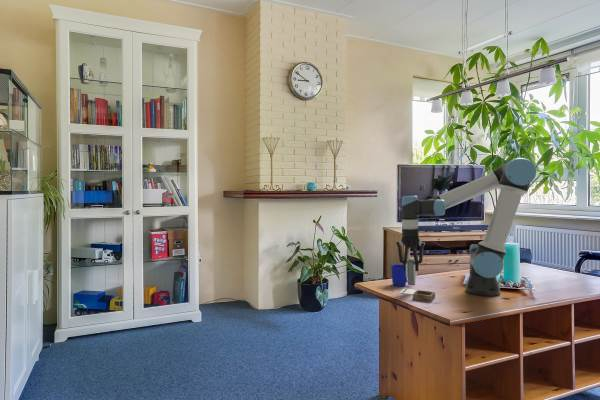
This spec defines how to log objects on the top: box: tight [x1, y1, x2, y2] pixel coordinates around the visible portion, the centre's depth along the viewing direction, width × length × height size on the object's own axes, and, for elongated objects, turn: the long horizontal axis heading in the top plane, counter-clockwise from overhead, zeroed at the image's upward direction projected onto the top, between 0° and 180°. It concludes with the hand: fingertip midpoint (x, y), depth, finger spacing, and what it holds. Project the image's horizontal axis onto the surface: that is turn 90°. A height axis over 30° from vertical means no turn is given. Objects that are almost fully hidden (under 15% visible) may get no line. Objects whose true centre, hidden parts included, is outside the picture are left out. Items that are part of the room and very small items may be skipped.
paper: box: [398, 288, 418, 296], centre depth 189 cm, size 14×9×1 cm, turn 61°
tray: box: [412, 289, 436, 303], centre depth 179 cm, size 8×8×3 cm
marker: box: [407, 258, 416, 286], centre depth 188 cm, size 3×3×12 cm
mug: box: [390, 264, 408, 287], centre depth 204 cm, size 8×12×10 cm
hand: (411, 277), depth 188 cm, fingers closed on marker, 3 cm apart
